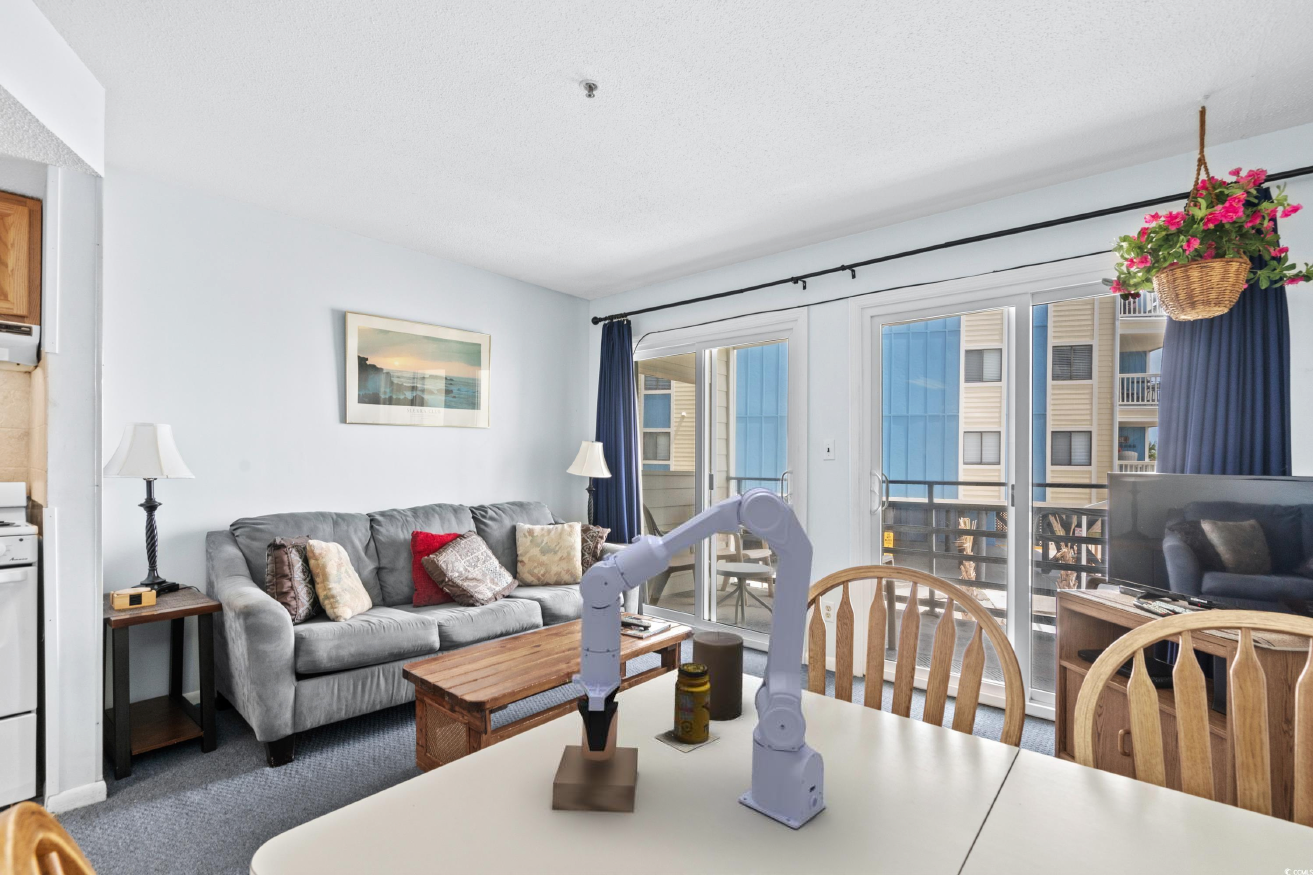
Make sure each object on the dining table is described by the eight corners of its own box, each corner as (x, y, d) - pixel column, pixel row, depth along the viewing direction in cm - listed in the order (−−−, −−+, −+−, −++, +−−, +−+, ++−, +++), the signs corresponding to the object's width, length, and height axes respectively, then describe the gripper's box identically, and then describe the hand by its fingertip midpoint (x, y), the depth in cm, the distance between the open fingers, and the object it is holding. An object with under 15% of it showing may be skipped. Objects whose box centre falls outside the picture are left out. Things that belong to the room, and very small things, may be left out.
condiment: (719, 738, 110) (721, 667, 110) (685, 753, 104) (687, 679, 105) (688, 724, 116) (690, 656, 116) (654, 738, 110) (656, 667, 110)
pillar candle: (739, 723, 116) (741, 639, 117) (685, 716, 118) (688, 634, 119) (744, 703, 126) (746, 626, 126) (695, 697, 128) (697, 621, 128)
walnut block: (637, 774, 98) (637, 747, 98) (633, 815, 87) (633, 785, 87) (565, 771, 98) (566, 744, 98) (552, 812, 87) (552, 782, 87)
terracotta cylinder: (623, 752, 93) (625, 710, 93) (597, 763, 89) (599, 720, 89) (599, 740, 96) (601, 700, 96) (574, 751, 93) (576, 709, 93)
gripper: (578, 631, 100) (575, 719, 100) (567, 662, 86) (564, 765, 86) (623, 632, 100) (621, 719, 100) (620, 663, 86) (617, 766, 86)
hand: (598, 740), depth 93 cm, fingers closed on terracotta cylinder, 5 cm apart
